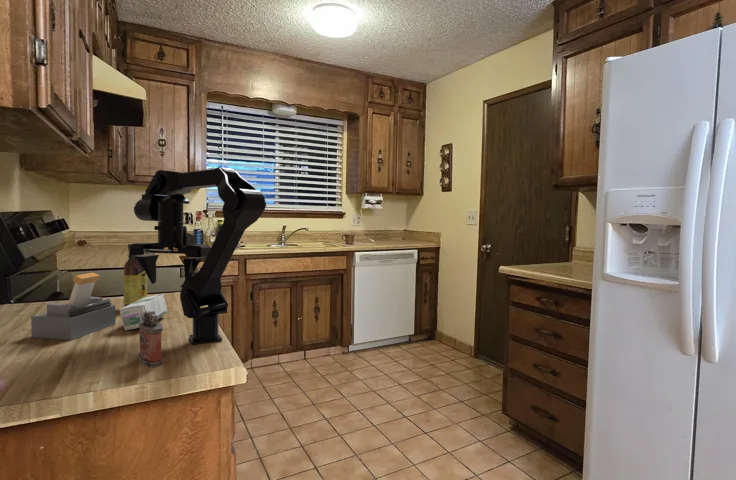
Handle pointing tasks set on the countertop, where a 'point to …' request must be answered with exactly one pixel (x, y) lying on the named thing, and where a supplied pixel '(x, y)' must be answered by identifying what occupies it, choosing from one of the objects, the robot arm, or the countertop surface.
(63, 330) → the block
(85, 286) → the lever
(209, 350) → the countertop surface
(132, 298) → the sauce bottle
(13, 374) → the countertop surface
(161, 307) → the syrup box
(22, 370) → the countertop surface
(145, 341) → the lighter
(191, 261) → the robot arm
